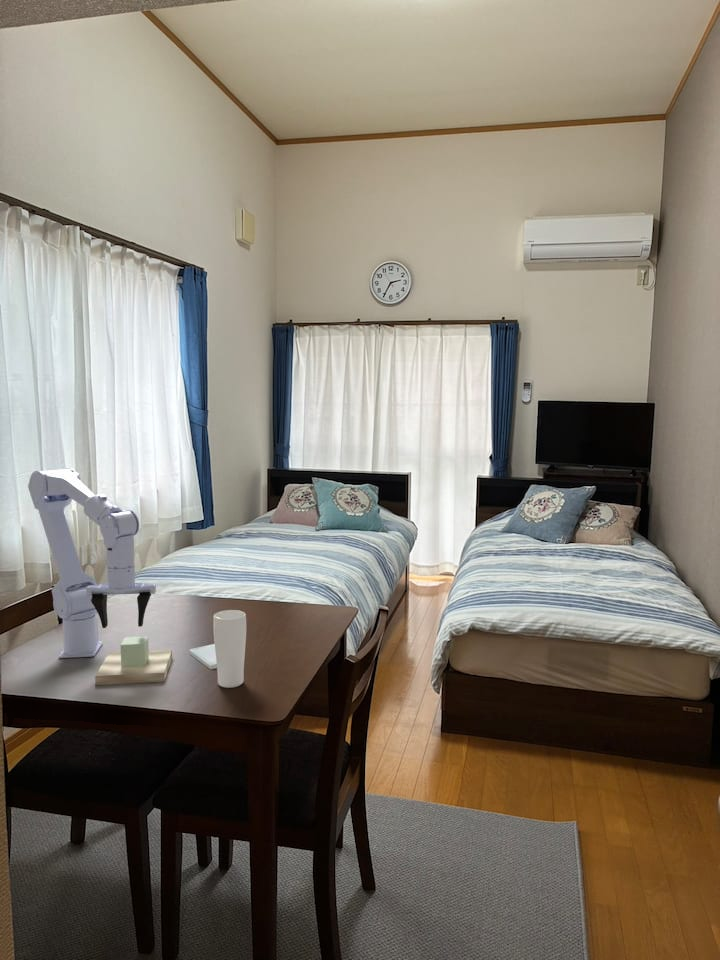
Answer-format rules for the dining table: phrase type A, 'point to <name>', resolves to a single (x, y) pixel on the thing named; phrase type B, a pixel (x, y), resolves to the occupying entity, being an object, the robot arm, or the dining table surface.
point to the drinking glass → (230, 646)
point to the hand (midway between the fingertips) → (122, 625)
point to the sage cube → (134, 651)
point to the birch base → (134, 669)
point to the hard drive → (205, 655)
